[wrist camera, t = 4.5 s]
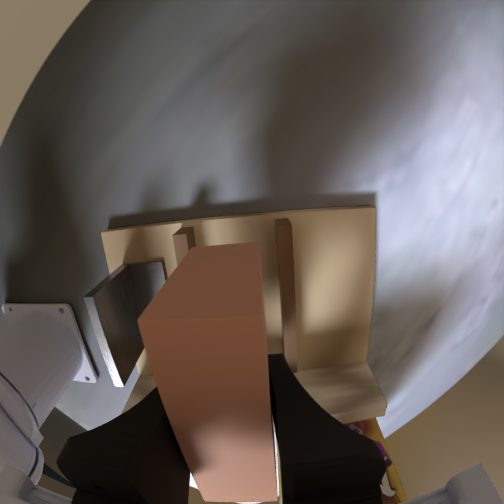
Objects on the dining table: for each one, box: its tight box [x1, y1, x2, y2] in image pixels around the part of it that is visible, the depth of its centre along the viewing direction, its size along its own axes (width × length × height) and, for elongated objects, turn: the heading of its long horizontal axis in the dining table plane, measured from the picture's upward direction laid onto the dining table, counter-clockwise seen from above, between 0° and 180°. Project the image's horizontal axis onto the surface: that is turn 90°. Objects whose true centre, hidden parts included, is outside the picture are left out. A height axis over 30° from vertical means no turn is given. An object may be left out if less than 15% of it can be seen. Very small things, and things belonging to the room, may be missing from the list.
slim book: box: [137, 242, 278, 502], centre depth 11 cm, size 3×9×7 cm, turn 5°
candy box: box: [276, 418, 408, 504], centre depth 17 cm, size 9×4×15 cm, turn 90°
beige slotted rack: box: [101, 205, 387, 432], centre depth 18 cm, size 18×13×6 cm
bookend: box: [84, 260, 167, 387], centre depth 17 cm, size 3×6×6 cm, turn 5°
